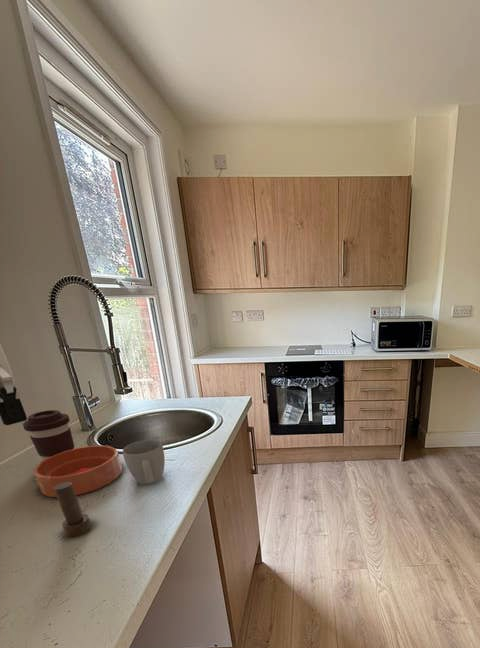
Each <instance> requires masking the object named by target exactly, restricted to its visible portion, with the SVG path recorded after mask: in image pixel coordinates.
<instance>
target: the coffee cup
mask: <svg viewBox="0 0 480 648" xmlns="http://www.w3.org/2000/svg"><path fill="white" fill-rule="evenodd" d="M70 421H71V419H70V417H69V414H66V413H62V412H61V411H60V410H57V409H49V410H43V411H38V412H35V413H32V414H30V415H28V416H27V420H26V421H23V422H22V427H23V429H24V431H26V432H28V433H29V438H30V440H31V442H32V444H33V446H34V448H35V450H36V452H37V454H38V456H39V457H40V458H41V460H42V461H43V460H45V459H47V458H49V457H51V456H53V455H56V454H59V453H61V452H64V451H68V450H72V449H75V443H74V438H73V434H72V431H71V427H70V425H69V423H70Z"/></svg>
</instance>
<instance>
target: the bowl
mask: <svg viewBox="0 0 480 648" xmlns="http://www.w3.org/2000/svg"><path fill="white" fill-rule="evenodd" d="M83 468H87V469H90V470H87V471H83V472H80V473H77V471H79V470H80V469H83ZM122 471H123V467H122V463H121V460H120V456H119V453H118V450H117V449H116V448H115V447H113V446H110V445H104V444H103V445H101V444H99V445H98V444H97V445H87V446H81V447H74V449H72V450H68V451H64V452H61V453H59V454H56V455H53V456H51V457H49V458H47V459H45V460H42V461H40V462H39V463H38V464H37V465H35V467H34V468H33V474H34V477H35V479H36V482H37V485H38V487H39V489H40V492H41V494H43V495H45V496H47V497H50V498H52V497H53V498H57V496H56V493H55V490H54V487H55V486H56V485H58V484H60V483H63V482H71V483H72V486H73V489H74V491H75V494H76V496H79V495H84V494H86V493H90V492H93V491H96V490H99V489H101V488H103V487H105V486H107V485H109V484H111V483H112V482H114V481H115V480H116V479H117V478H118V477H119V476H120V475H121V474H122ZM76 473H77V474H76Z"/></svg>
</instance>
